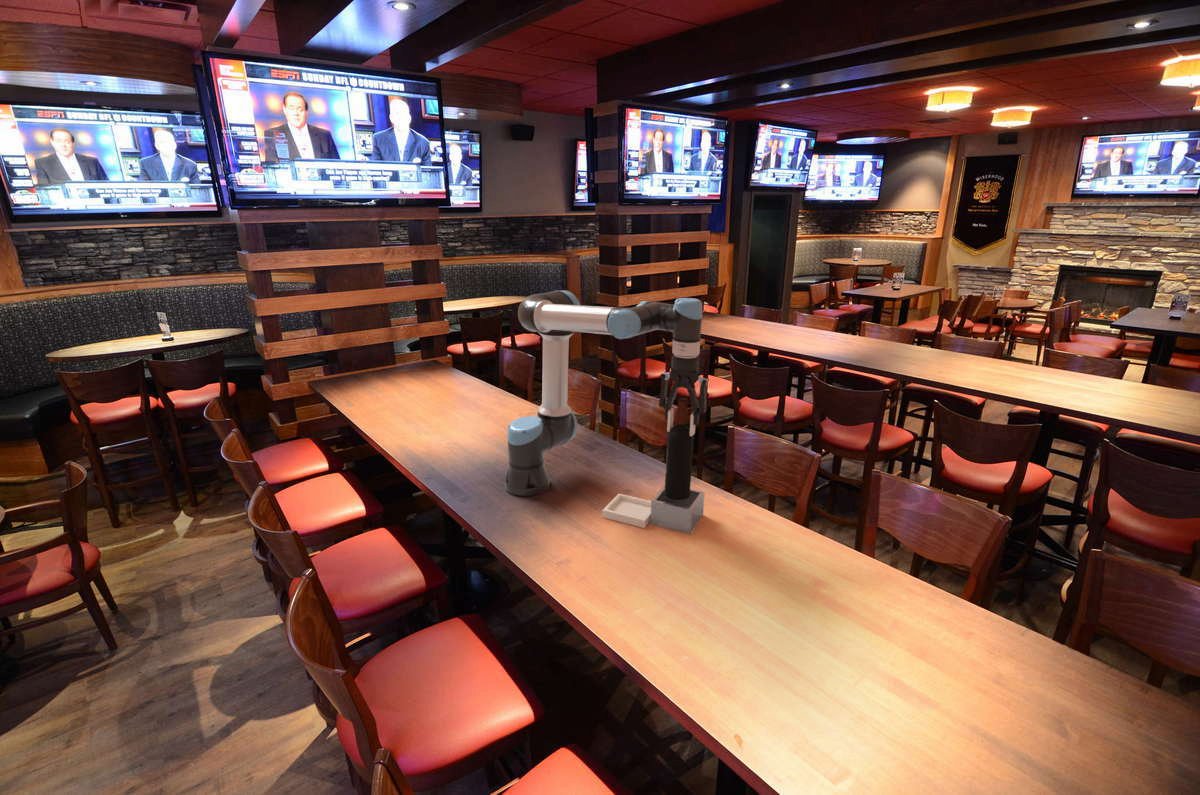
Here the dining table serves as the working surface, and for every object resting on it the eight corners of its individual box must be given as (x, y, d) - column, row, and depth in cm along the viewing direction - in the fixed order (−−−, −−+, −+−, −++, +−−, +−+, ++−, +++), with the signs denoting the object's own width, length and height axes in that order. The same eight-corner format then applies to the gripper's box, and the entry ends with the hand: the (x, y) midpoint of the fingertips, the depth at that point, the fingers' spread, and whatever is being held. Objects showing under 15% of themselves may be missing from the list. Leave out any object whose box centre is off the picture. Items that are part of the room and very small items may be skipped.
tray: (602, 517, 177) (602, 509, 176) (618, 500, 187) (618, 493, 186) (644, 528, 171) (644, 520, 170) (659, 510, 181) (659, 503, 181)
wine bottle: (670, 501, 169) (675, 405, 159) (660, 489, 176) (665, 396, 166) (693, 498, 171) (700, 402, 161) (683, 486, 178) (689, 394, 168)
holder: (650, 524, 173) (651, 500, 171) (664, 506, 184) (665, 483, 181) (690, 534, 168) (691, 510, 165) (702, 515, 179) (704, 492, 176)
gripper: (648, 353, 160) (645, 430, 168) (715, 362, 152) (709, 443, 160) (658, 348, 167) (654, 422, 174) (723, 356, 159) (716, 434, 166)
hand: (680, 432), depth 167 cm, fingers closed on wine bottle, 6 cm apart
